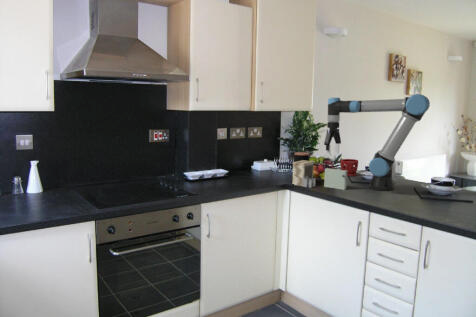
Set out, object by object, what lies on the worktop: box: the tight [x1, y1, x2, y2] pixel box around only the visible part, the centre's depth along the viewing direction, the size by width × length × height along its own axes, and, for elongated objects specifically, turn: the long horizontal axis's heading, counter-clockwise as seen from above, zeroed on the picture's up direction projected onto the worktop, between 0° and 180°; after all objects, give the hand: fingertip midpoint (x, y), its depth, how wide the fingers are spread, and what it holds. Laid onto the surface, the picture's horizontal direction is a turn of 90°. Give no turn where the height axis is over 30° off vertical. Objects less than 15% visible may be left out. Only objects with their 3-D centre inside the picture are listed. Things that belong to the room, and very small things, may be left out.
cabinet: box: [291, 160, 315, 187], centre depth 266 cm, size 9×14×15 cm, turn 143°
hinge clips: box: [301, 176, 317, 188], centre depth 259 cm, size 6×6×6 cm
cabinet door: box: [323, 167, 348, 191], centre depth 255 cm, size 14×4×12 cm, turn 53°
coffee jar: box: [293, 151, 310, 162], centre depth 288 cm, size 11×11×18 cm
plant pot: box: [340, 158, 359, 177], centre depth 302 cm, size 13×13×12 cm
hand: (332, 154), depth 256 cm, fingers open, 13 cm apart
